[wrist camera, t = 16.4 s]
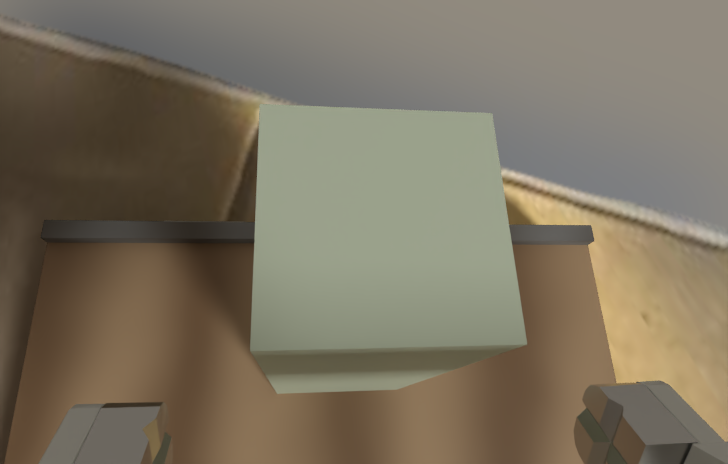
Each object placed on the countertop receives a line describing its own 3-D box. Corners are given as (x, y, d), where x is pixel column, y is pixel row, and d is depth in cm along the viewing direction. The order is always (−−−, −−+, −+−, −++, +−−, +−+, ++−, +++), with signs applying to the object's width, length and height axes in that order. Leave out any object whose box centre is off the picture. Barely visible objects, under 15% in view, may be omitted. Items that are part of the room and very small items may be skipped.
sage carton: (277, 393, 21) (249, 350, 9) (279, 273, 22) (259, 98, 10) (396, 389, 21) (527, 344, 9) (389, 272, 23) (490, 107, 11)
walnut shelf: (10, 639, 19) (-49, 684, 16) (79, 241, 25) (45, 213, 21) (617, 584, 22) (674, 612, 19) (554, 244, 28) (589, 219, 25)
